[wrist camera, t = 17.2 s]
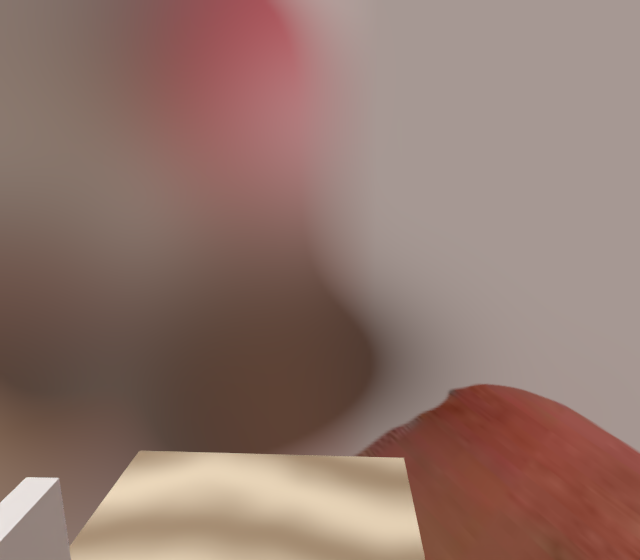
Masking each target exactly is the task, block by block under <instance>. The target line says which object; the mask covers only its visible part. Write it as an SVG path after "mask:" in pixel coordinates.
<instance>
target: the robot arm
mask: <svg viewBox="0 0 640 560" xmlns="http://www.w3.org/2000/svg"><path fill="white" fill-rule="evenodd" d="M0 560H71V556H70V549H69V542H68V536H67V529H66V521H65V515H64V508H63V501H62V494H61V488H60V480H59V478H28V477H27V478H25V479H24V480H23V481H22V482H21V483H20V484H19V485H18V486H17V487H16V488H15V489H14V490H13V491H12V492H11V493H10V494H9V495H8V496H7V497H6V498H5V499H4V500H3V501H2V502H1V503H0Z"/></svg>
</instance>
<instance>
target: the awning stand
mask: <svg viewBox="0 0 640 560" xmlns="http://www.w3.org/2000/svg"><path fill="white" fill-rule="evenodd" d="M69 549H70V556H71V560H425V556H424V552H423V547H422V542H421V537H420V533H419V528H418V523H417V519H416V514H415V509H414V504H413V500H412V495H411V490H410V485H409V481H408V476H407V471H406V467H405V462H404V458H385V457H349V456H312V455H274V454H240V453H202V452H167V451H166V452H165V451H139V452H138V454H137V455H136V457H135V458H134V459H133V460H132V462H131V463H130V465H129V466H128V467H127V469H126V470H125V471H124V473H123V474H122V475H121V477H120V478H119V479H118V481H117V482H116V484H115V485H114V486H113V488H112V489H111V491H110V492H109V493H108V495H107V496H106V497H105V499H104V500H103V501H102V503H101V504H100V505H99V507H98V508H97V510H96V511H95V512H94V514H93V515H92V517H91V518H90V519H89V521H88V522H87V523H86V525H85V526H84V527H83V529H82V530H81V532H80V533H79V534H78V536H77V537H76V538H75V540H74V541H73V542H72V544H71V545H70V547H69Z"/></svg>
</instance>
